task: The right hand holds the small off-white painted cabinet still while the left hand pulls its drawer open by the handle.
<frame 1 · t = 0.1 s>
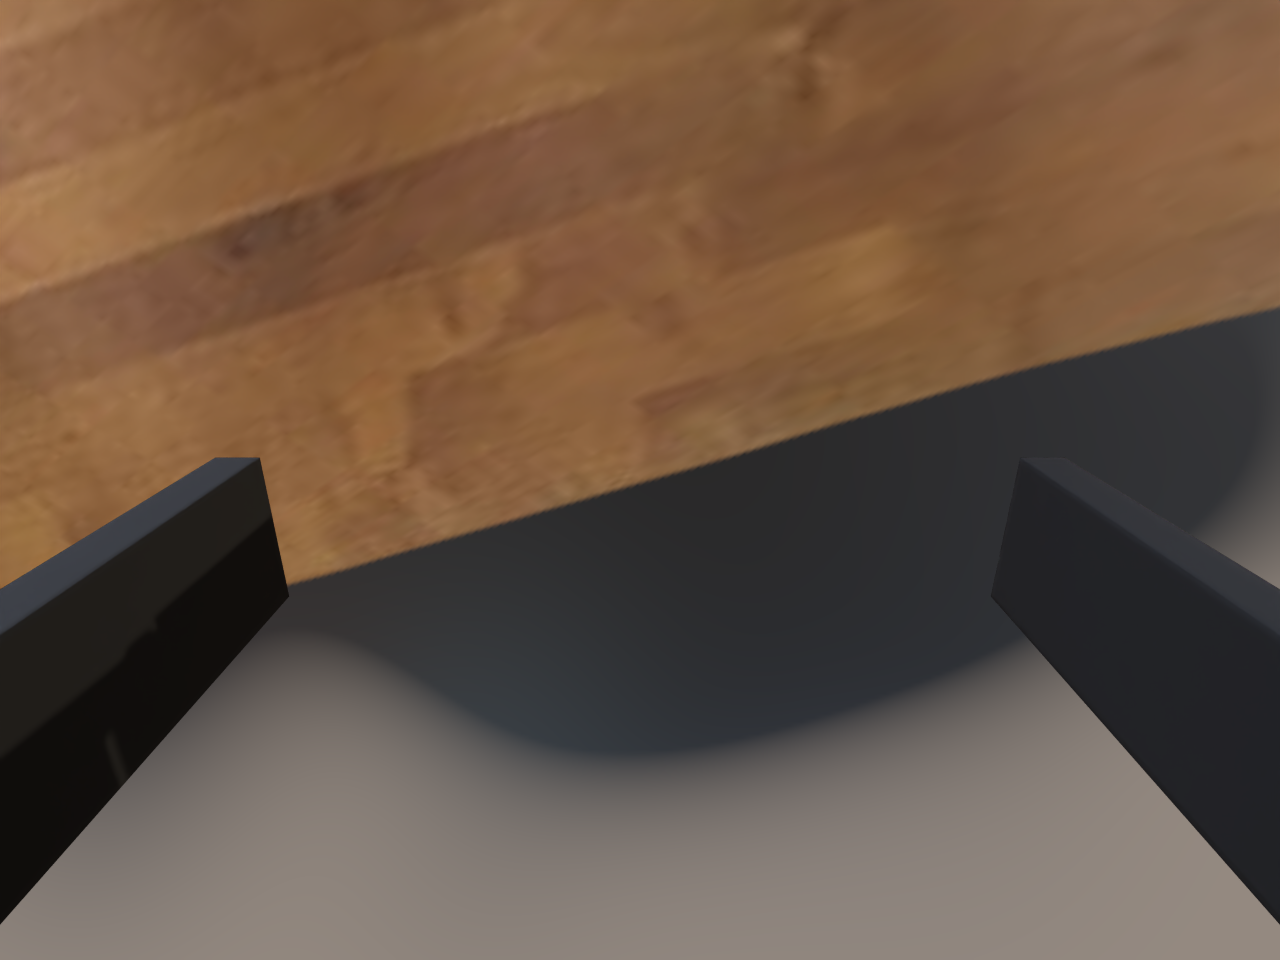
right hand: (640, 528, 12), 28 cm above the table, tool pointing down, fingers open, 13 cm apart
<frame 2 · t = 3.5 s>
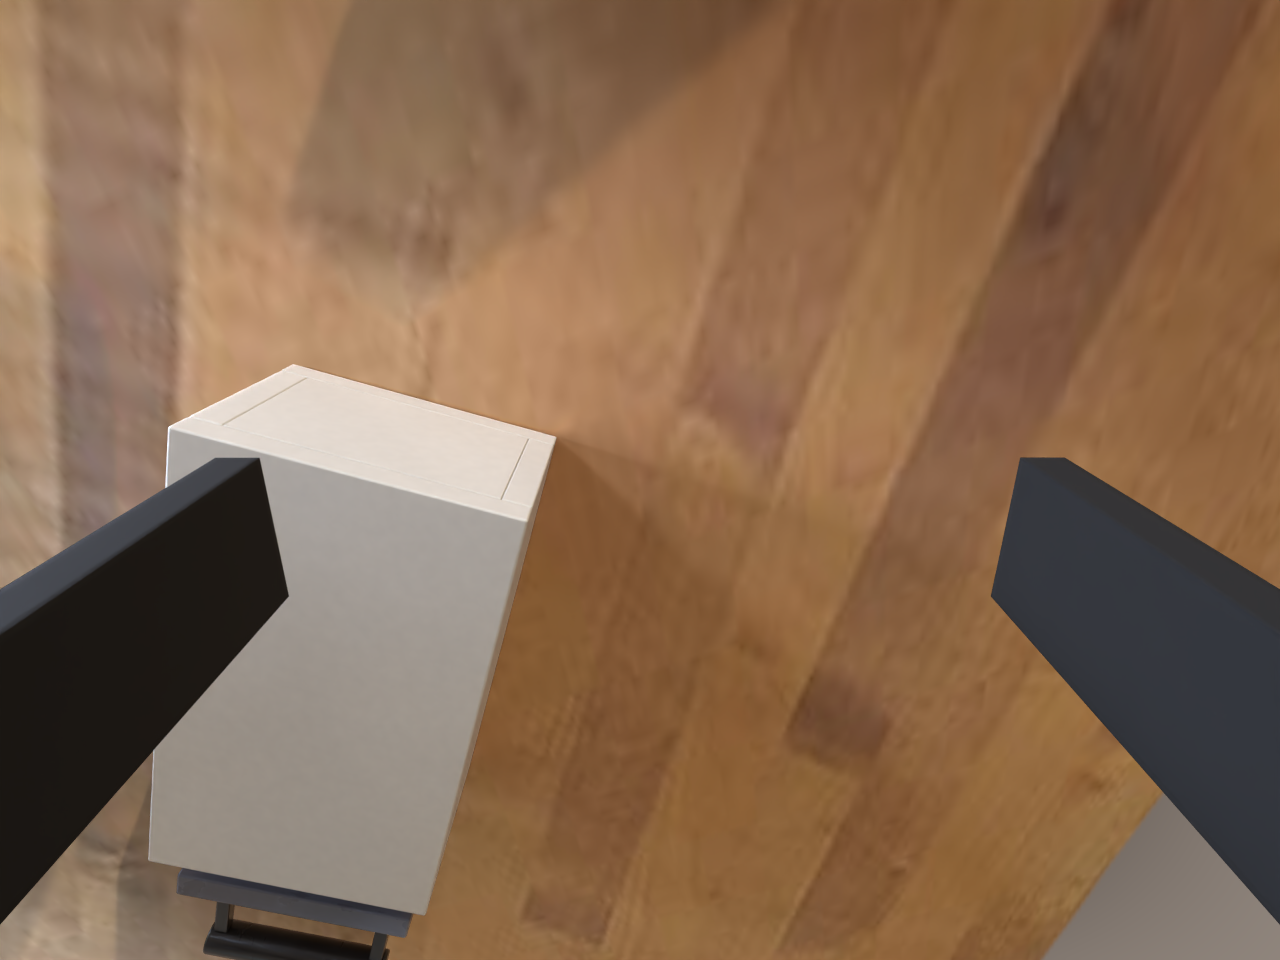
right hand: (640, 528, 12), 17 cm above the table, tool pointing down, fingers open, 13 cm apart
drawer: (337, 765, 31), point 4 cm above the table, slide at 1.9 cm
cabinet: (392, 588, 32), on the table
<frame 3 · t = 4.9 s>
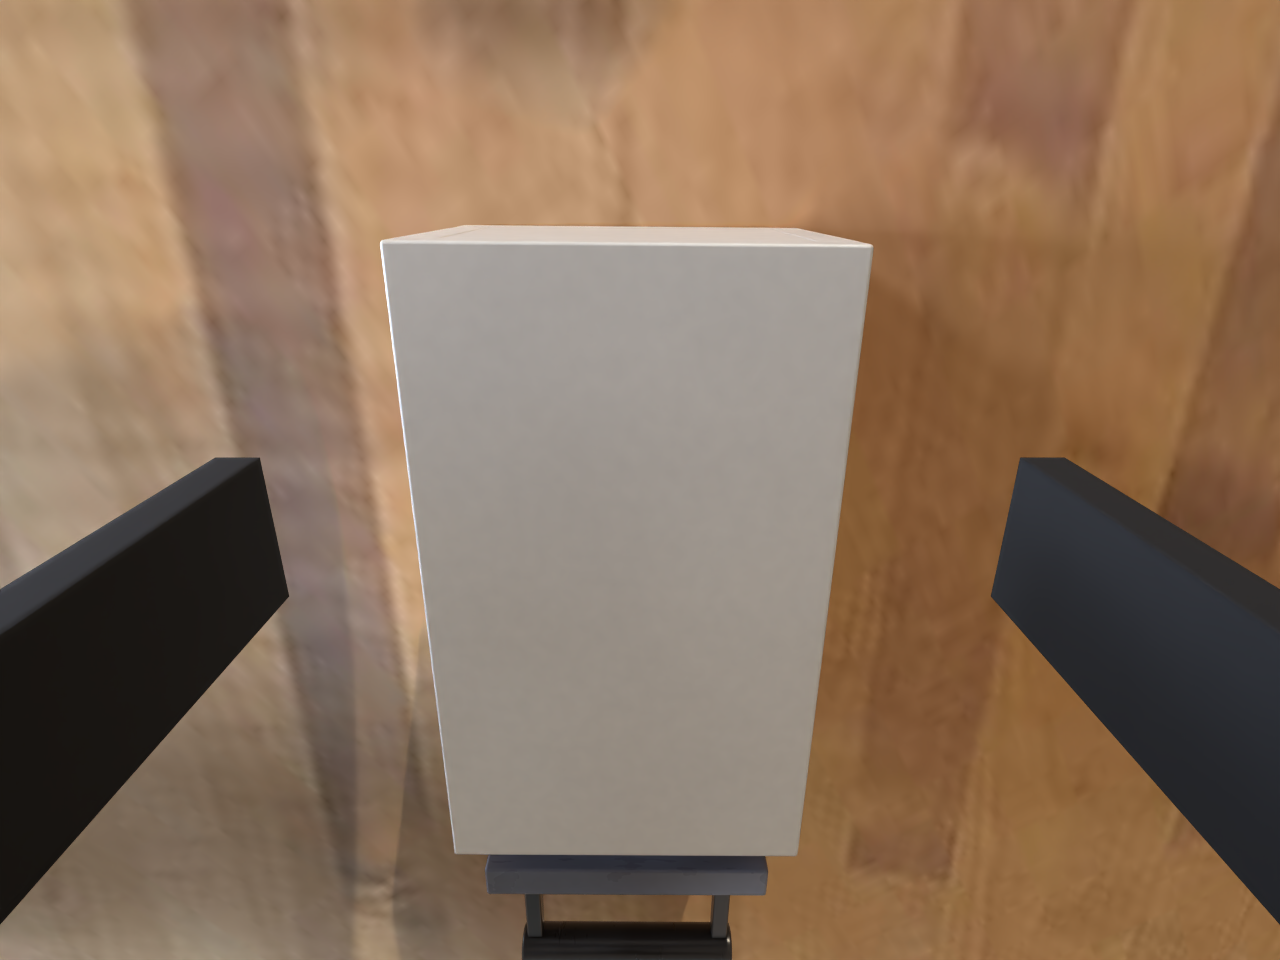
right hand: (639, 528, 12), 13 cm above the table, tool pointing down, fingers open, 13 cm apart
drawer: (628, 706, 25), point 4 cm above the table, slide at 1.9 cm
cabinet: (630, 487, 27), on the table
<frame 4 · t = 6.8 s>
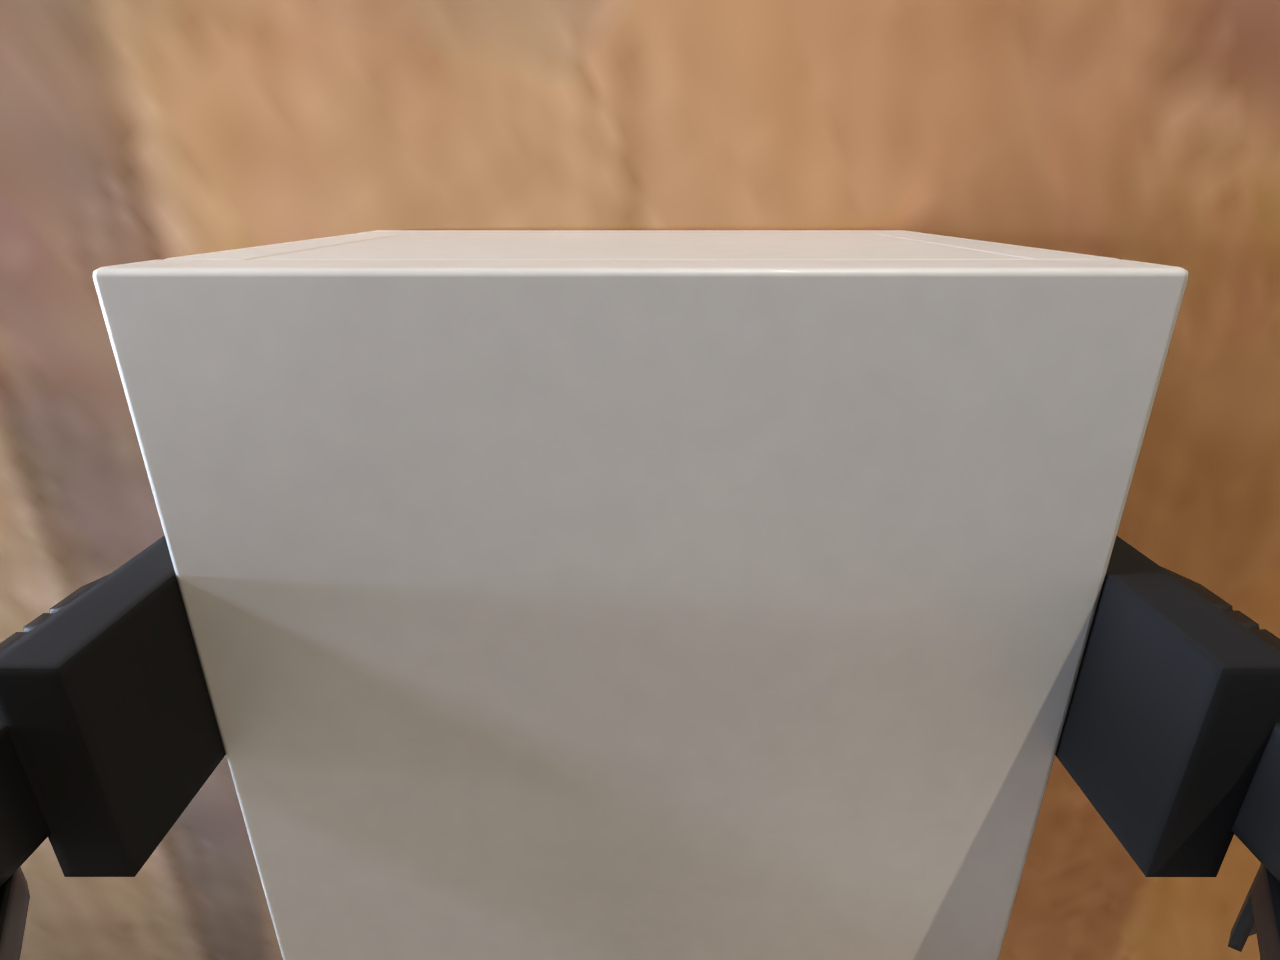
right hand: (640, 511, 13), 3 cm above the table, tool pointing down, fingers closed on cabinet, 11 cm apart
cabinet: (640, 615, 18), on the table, touching right hand
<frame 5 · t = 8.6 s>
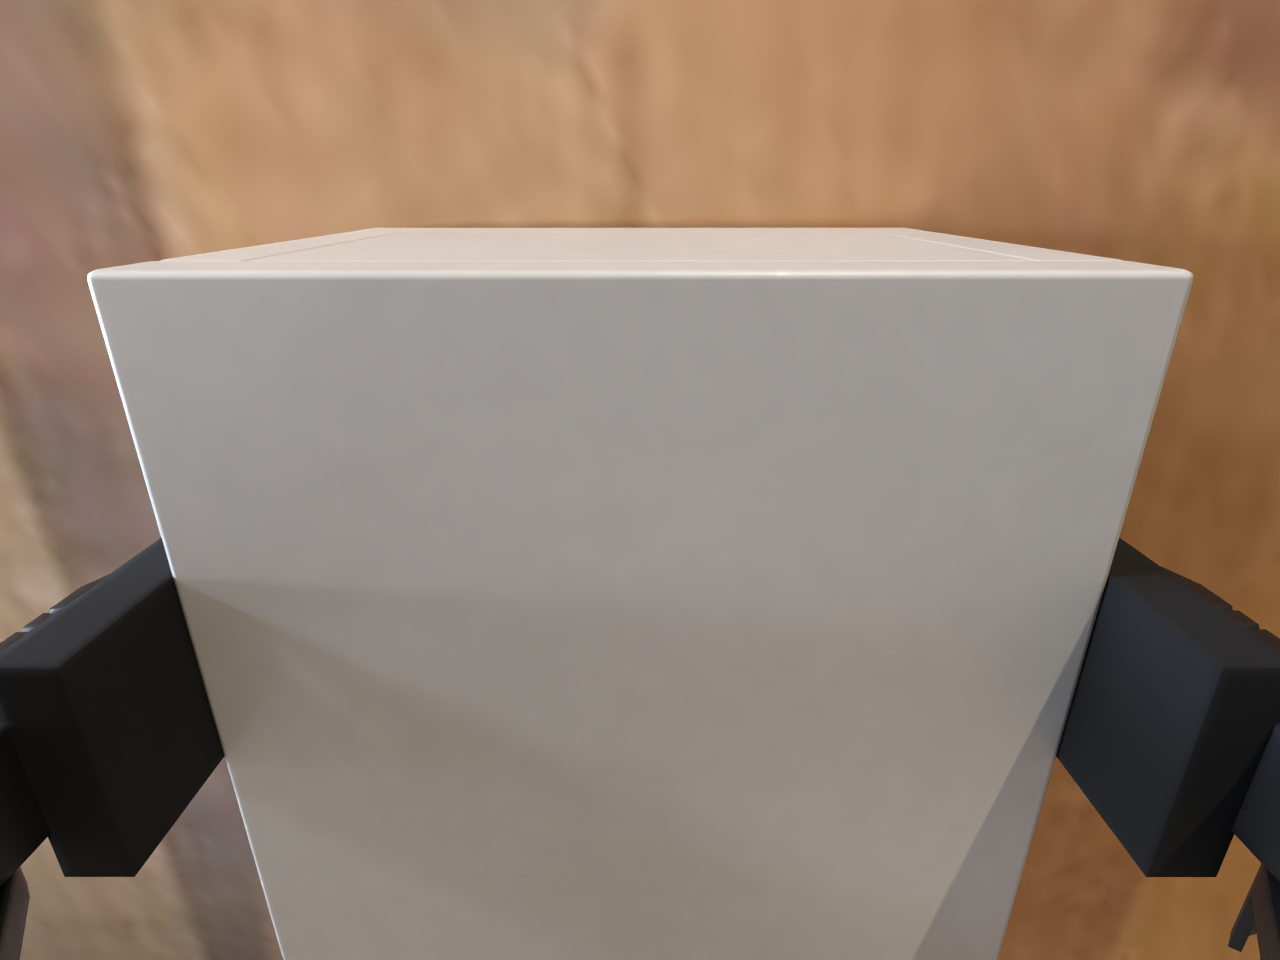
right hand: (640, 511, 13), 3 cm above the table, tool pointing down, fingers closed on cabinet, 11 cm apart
cabinet: (640, 613, 18), on the table, touching right hand
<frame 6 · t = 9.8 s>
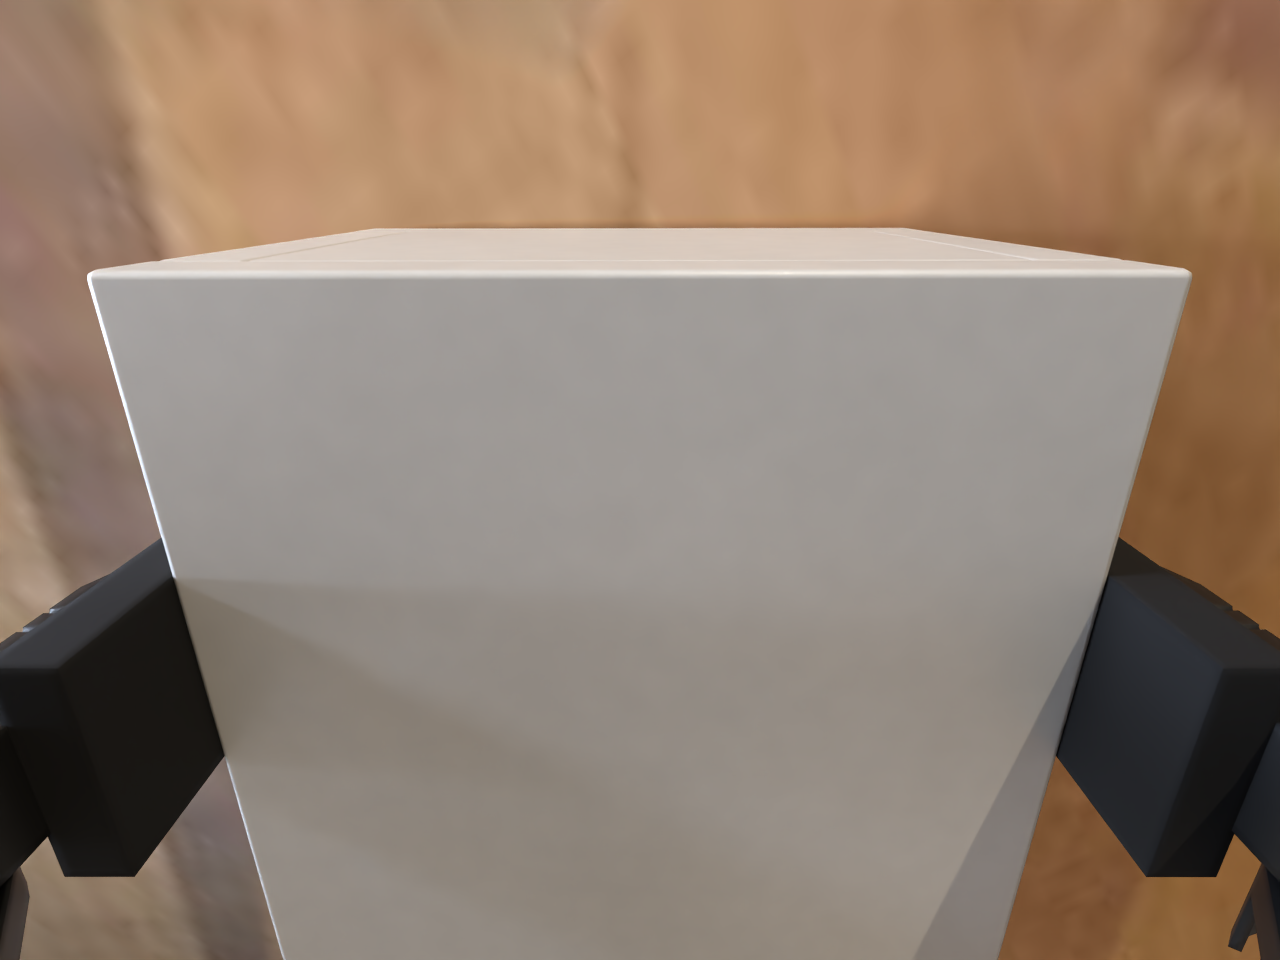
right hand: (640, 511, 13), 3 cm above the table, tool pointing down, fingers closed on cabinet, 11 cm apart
cabinet: (640, 613, 18), on the table, touching right hand
when the right hand's fingers open (3 cm above the table, at t = 11.5 s): cabinet stays where it is, on the table.
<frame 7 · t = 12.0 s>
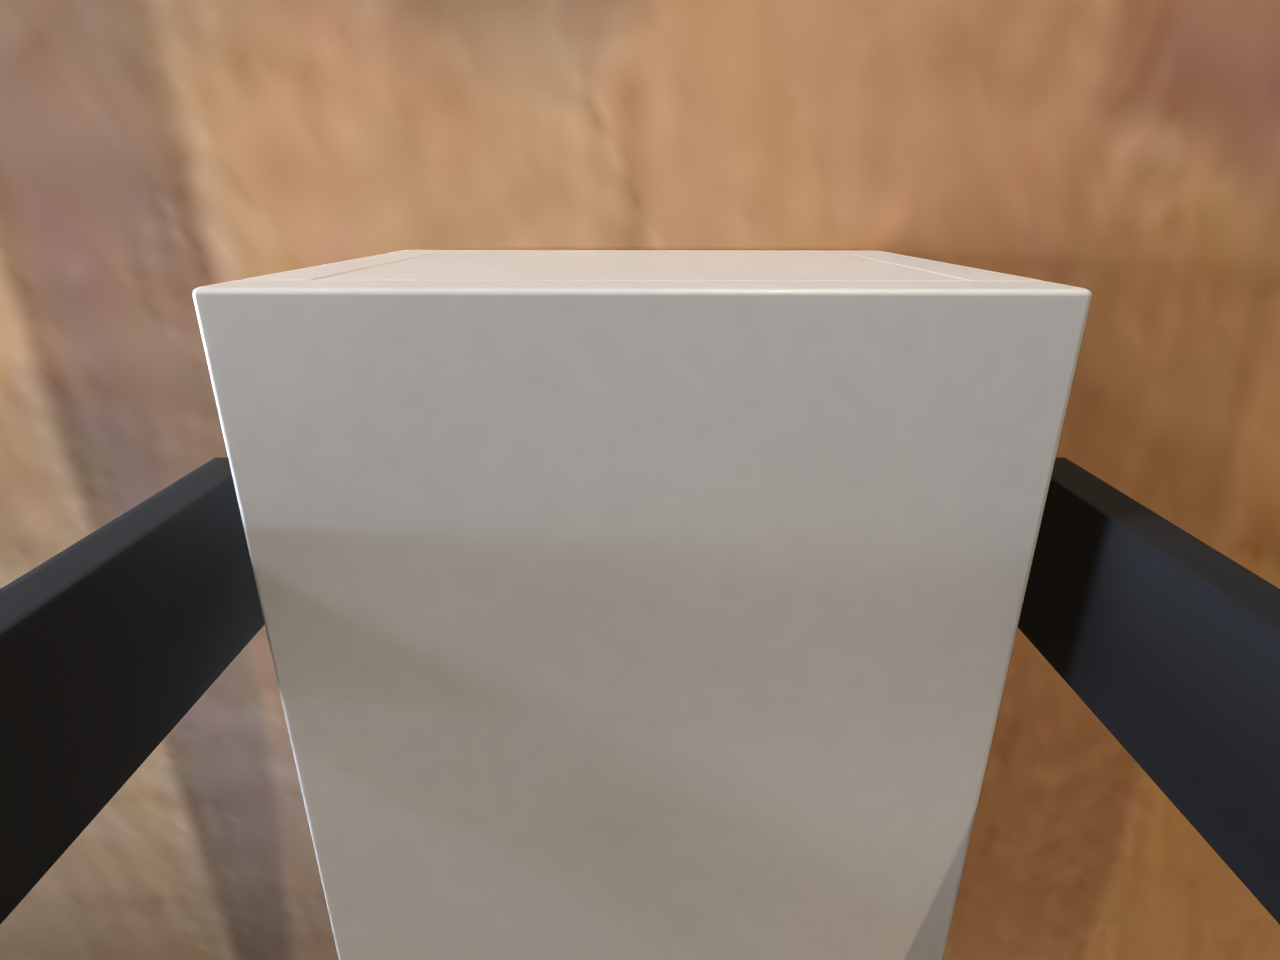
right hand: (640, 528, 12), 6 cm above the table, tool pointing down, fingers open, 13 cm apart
cabinet: (641, 603, 19), on the table
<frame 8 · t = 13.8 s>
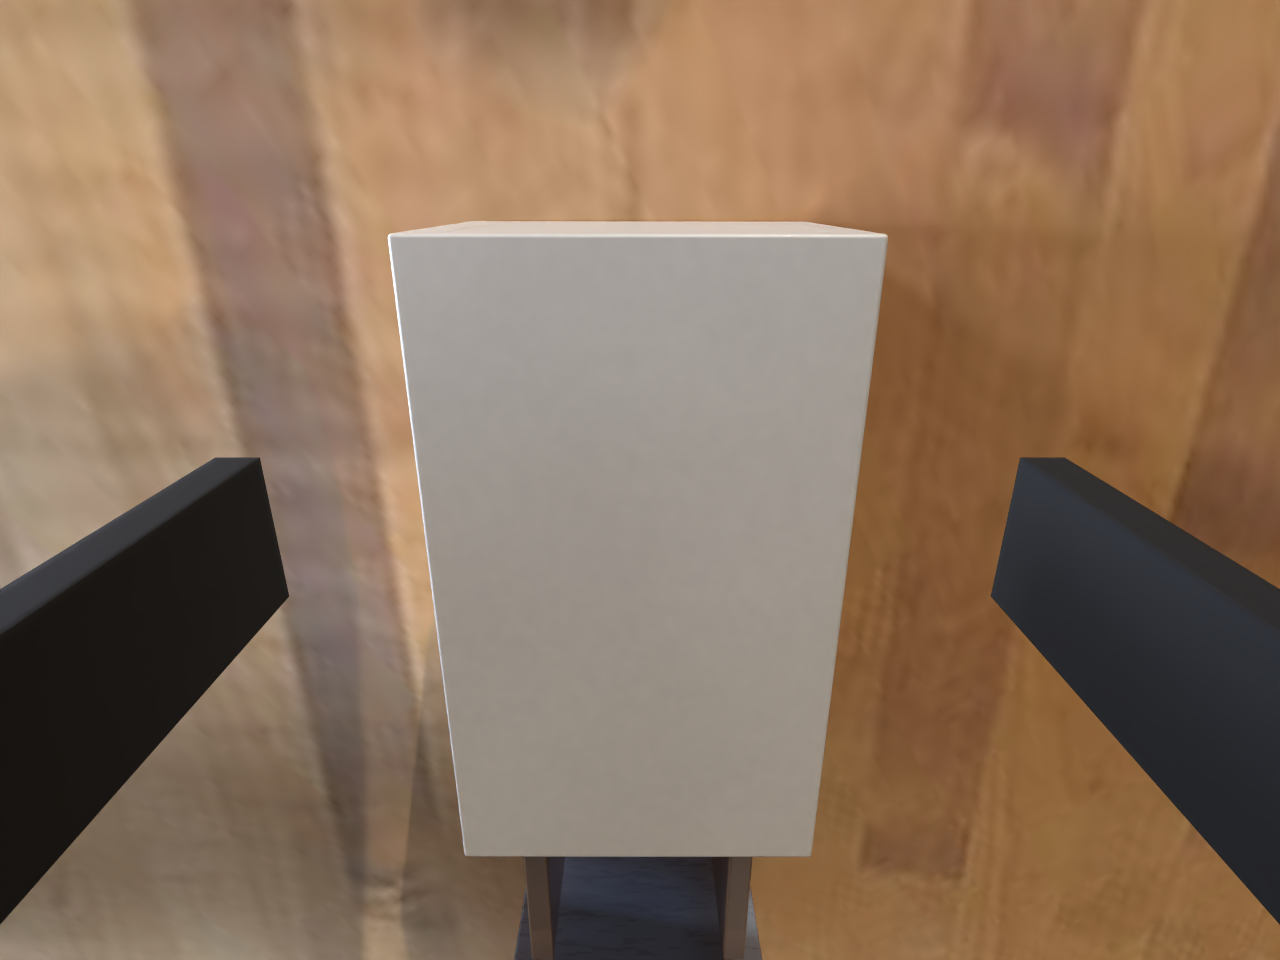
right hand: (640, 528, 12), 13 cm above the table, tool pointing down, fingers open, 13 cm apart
drawer: (638, 840, 27), point 4 cm above the table, slide at 8.3 cm
cabinet: (638, 485, 26), on the table
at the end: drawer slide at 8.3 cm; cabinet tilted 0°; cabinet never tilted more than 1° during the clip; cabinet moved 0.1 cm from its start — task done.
